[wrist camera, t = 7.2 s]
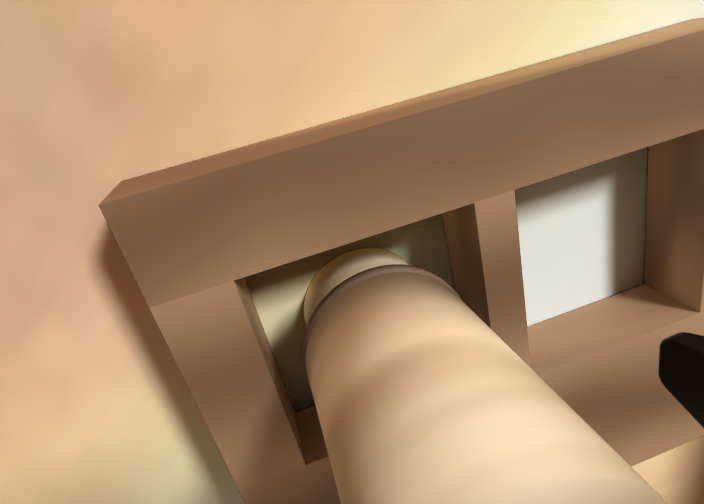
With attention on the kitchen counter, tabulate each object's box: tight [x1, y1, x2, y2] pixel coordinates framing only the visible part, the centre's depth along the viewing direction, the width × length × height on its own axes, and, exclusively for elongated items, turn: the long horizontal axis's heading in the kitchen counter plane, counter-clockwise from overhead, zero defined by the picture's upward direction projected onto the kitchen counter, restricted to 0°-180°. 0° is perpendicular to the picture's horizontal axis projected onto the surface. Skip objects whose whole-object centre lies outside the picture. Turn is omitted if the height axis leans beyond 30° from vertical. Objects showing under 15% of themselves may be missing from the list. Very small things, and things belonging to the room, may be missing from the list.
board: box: [99, 18, 704, 504], centre depth 13 cm, size 13×15×2 cm
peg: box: [301, 248, 667, 504], centre depth 9 cm, size 4×4×8 cm
